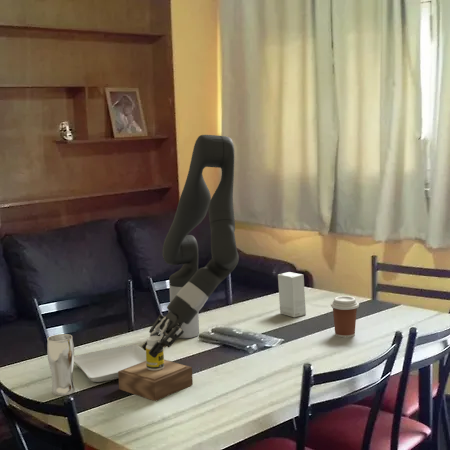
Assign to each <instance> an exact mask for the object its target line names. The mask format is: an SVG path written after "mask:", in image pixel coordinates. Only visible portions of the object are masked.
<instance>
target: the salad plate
mask: <svg viewBox="0 0 450 450" xmlns="http://www.w3.org/2000/svg"><path fill="white" fill-rule="evenodd" d="M144 361H146V351H145V350H144V349H143V348H142V346H140V345H138V344H137V343H132V344H128V345H127V344H125V345H120V346H117V347H116V346H115V347H111V348H105V349H100V350H95V351H91V352H87V353H82V354H75V355H74V365H75V366H77V367H78V368H79V369H80V370H82V372H83V373H84V374H85V376H87V377H88V379H89V380H90V381H92V382H93V383H101V382H107V381H112V380H117V379H118V380H119V378H118V371H121V370H123V369H126V368H129V367H131V366H134V365H136V364H139V363H142V362H144Z"/></svg>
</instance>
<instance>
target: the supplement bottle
mask: <svg viewBox="0 0 450 450" xmlns="http://www.w3.org/2000/svg"><path fill="white" fill-rule="evenodd" d="M159 338H160V336H150V335H149V336H148V337H147V338H146V341H147V345H146V366H147V369H148V370H152V371H157V370H161V369H163V368H164V360H165V358H164V357H165V356H164V353H165V352H164V348H163V349H162V350H161V351H160V352H159V354H158V355H157V356H156V357H155V358H153V357H152V356H151V355H150V354H149V351H150V350H151V349H152V347H153V346H154V345H155V344H156V342H158V340H159Z"/></svg>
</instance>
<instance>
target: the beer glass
mask: <svg viewBox="0 0 450 450" xmlns="http://www.w3.org/2000/svg"><path fill="white" fill-rule="evenodd" d="M46 341H47V343H46V347H47V351H46V352H47V353H46V354H47V361H48V365H49V369H50V372H51V374H50V375H51V378H52V379H51V380H52V386H51V394H52V395H53V396H56V397H62V396H69V395H71V394H73V393H74V392H76V388H75V383H74V379H73V378H74V377H73V375H74V365H75V364H74V356H75V346H74V340H73V335H71V334H66V333H61V334H60V333H59V334H53V335H50V336H49V337H48V338H47V340H46Z"/></svg>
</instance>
